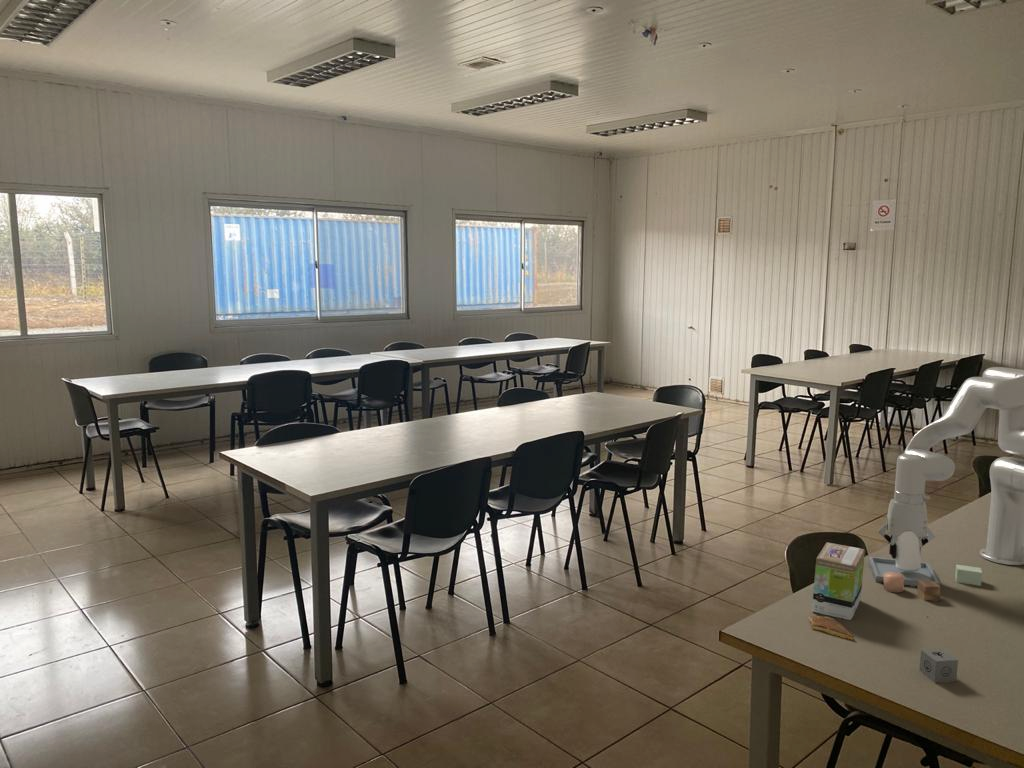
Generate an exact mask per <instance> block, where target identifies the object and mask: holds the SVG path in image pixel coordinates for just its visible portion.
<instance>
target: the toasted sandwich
mask: <svg viewBox="0 0 1024 768" xmlns="http://www.w3.org/2000/svg"><path fill="white" fill-rule="evenodd" d="M835 618H836V617H831V616H825V615H824V616H823V615H822V616H812V615H811V616H808V620H809V622H811V625H810V627H811V630H816V631H819V632H823V633H827V634H829V635H832V636H835V635H836V637H838V636H840V637H839V638H842V637H843V638H842V639H845V638H848V639H847V640H849V639H851V640H850V641H854V639H855V636H854V635H853V634H851V633H850V632H849V631H848V630H847V629H846V627H845V626H844V625H843V624H842V623H841V622H839V621H838V620H837V619H835Z"/></svg>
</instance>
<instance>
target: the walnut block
mask: <svg viewBox="0 0 1024 768" xmlns="http://www.w3.org/2000/svg"><path fill="white" fill-rule="evenodd" d="M916 590H917V591H916V592H917V593H916V595H917V594H918V595H919V596H918V595H917V596H918V597H919V598H920V599H921V600H922V601H925V600H933V601H932V602H935V601H936V602H940V598H941V586H939V585H938V584H936V583H935V582H934V581H918V587H917V589H916Z"/></svg>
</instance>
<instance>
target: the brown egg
mask: <svg viewBox="0 0 1024 768" xmlns="http://www.w3.org/2000/svg"><path fill="white" fill-rule="evenodd" d="M883 589H884V590H885V589H886V590H885V591H886V592H890V591H891V592H890V593H903V592H905V591H904V590H905V585H904V575H903V574H901V573H897V572H885V573H884V583H883Z"/></svg>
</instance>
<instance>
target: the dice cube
mask: <svg viewBox="0 0 1024 768" xmlns="http://www.w3.org/2000/svg"><path fill="white" fill-rule="evenodd" d="M919 661H920V662H919V672H920V671H921V672H922V673H921V672H920V673H921V674H922V675H923V676H925V677H926V676H927V677H926V678H928V680H930V681H931V680H932V681H931V682H932V683H934V682H941V683H955V682H954V681H956V682H957V677H958V676H957V675H958V664H959V660H958V658H956V657H955V656H953V655H952V654H950V653H949V652H948V651H946V650H945V649H944V648H933V649H921V650H920V660H919Z"/></svg>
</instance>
